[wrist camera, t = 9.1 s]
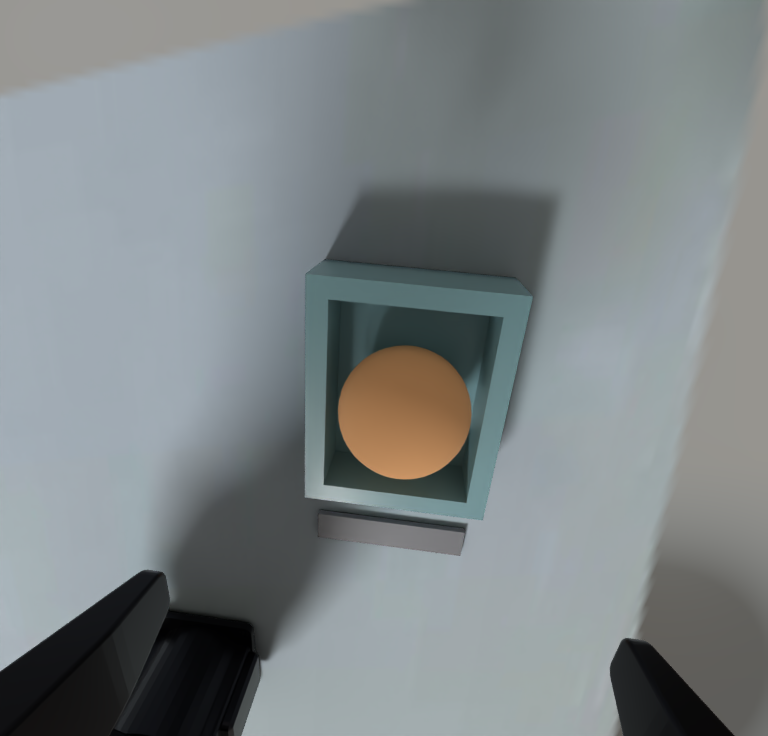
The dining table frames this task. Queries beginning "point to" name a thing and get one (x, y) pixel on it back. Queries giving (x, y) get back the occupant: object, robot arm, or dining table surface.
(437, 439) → the ball
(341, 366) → the tray
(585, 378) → the dining table surface
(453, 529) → the gray ramp board
